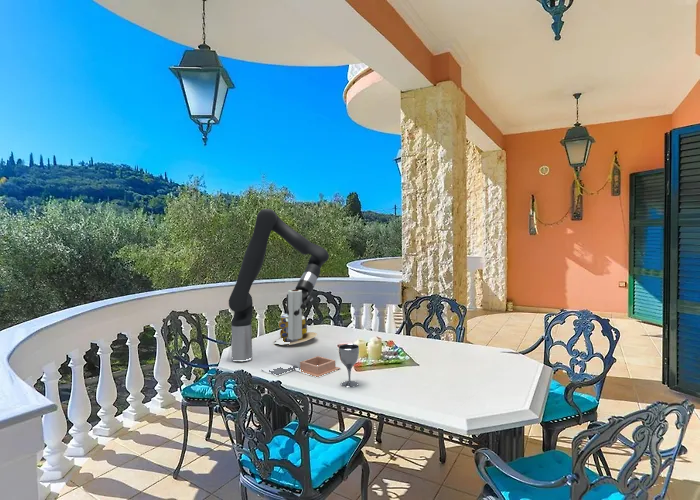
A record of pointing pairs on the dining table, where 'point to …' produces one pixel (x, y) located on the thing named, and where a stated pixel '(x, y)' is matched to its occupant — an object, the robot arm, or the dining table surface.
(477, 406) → the dining table surface
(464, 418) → the dining table surface
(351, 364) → the wine glass
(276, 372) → the slate mat
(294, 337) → the tall grey box
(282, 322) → the tray of yellow jars
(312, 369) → the terracotta square tray
